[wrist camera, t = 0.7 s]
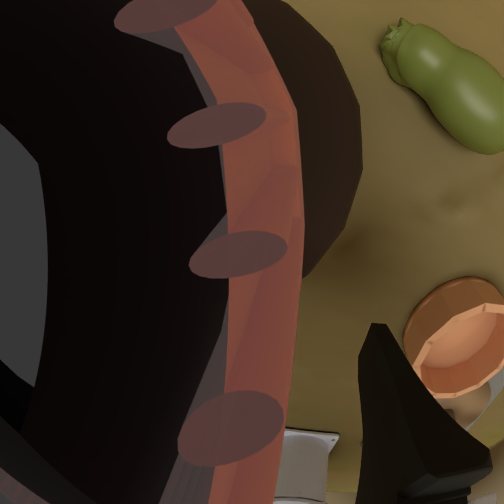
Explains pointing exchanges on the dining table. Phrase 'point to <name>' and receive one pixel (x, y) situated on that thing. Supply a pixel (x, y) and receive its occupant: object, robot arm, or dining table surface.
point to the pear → (449, 84)
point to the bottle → (160, 241)
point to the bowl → (456, 337)
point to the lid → (467, 405)
